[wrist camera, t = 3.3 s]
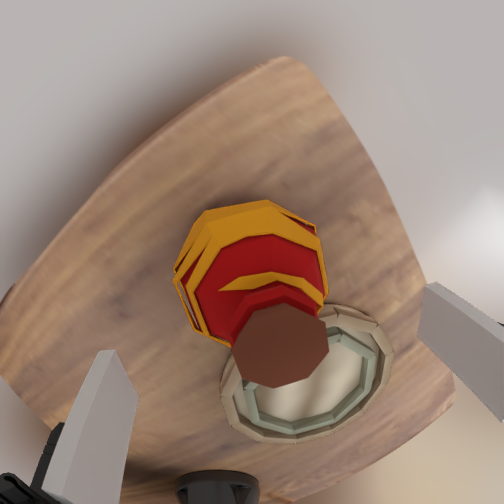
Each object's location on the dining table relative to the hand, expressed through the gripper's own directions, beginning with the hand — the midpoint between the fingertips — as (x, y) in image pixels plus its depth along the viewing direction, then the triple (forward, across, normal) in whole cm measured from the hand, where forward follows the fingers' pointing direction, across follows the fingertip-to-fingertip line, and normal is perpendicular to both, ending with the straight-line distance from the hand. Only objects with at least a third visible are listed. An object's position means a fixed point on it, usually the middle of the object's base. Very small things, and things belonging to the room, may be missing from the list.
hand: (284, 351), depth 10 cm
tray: (+15, +5, -17) cm, 24 cm away
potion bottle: (+16, 0, 0) cm, 16 cm away
